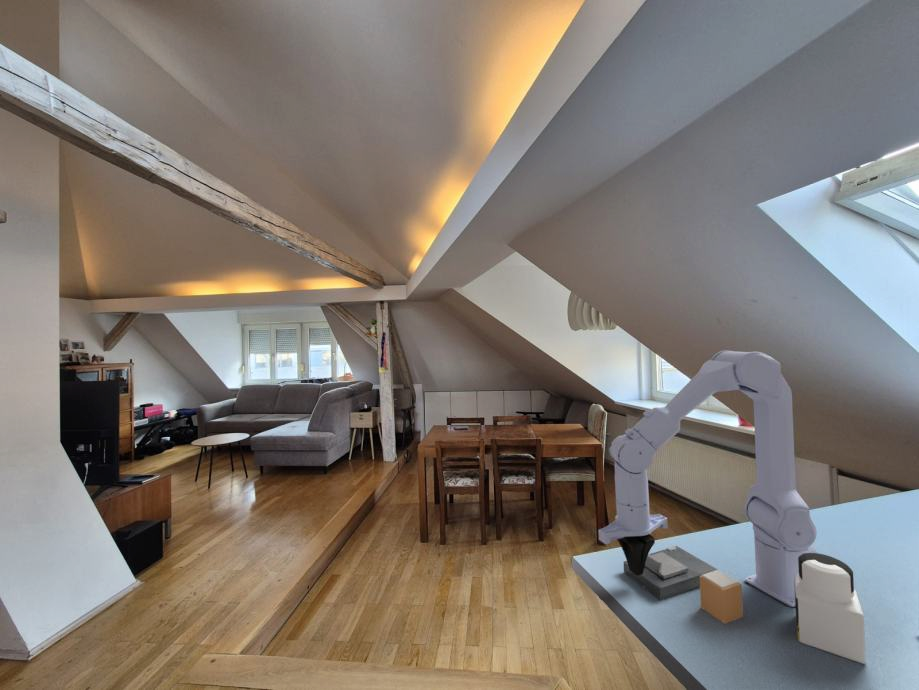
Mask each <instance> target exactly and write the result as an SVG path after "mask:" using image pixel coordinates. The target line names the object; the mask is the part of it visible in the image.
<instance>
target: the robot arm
mask: <svg viewBox="0 0 919 690" xmlns="http://www.w3.org/2000/svg"><path fill="white" fill-rule="evenodd" d="M781 367H782V364H781V362H779V361H778V360H776V359H774V358H773V357H772V356H769V355H768V354H766V353H764V352H761V351H734V350H726V349H725V350H721V351H718V352H717V353H715V354H713V356H712V357H711V358H710V359H708V360H707V361H705V362H704V363H703V364H702V366H701V367H700V369H699V370H698V372H697V373H696V374H695V375H694V376H693V377H692V378H691V379H690V380H689V382H687V384H686V385H685V386H684V387H683V388H682V389H680V391H679V392H678V393H677V394H676V395H675V396H673V398H672V399H671V400H670V401H668V403H667V404H666V405H665V406H663V407H653V408H652V409H651V410H650V409H646V410H645V411H644V412H643V413H642V415H643V417H642V418H641V419H640V420H639V421H638V422H636V424H634V425H633V426H632V427H631V428H627V429H625V431H624V433H625V434H622V435H618V436H617V437H615V438H614V439H613V440H612V442H611V446H610V447H608V452H609V455H610V456H611V458H612V459H613V460H614V487H615V488H614V489H615V504H616V505H615V507H616V515H615V516H614V517H615V518H614V519H615V520H614V521H613V522H611V523H609V524H608V525H607V526H605V527H604V526H603V528H599V529H598V531H597V532H598V540H599V541H600V542H601V543H603V544H604V545H609V544H611V542H612V541H615V540H616V541H617V542H618V544H619V546H620V547H621V550H622V551H623V554H624V556H625V559H626V560H625V561H627V563H628V566H629V570H630V571H631V572H633V573H634V574H635V575H637V576H638V575H641V574H643V571H644V567H645V562H646V559H647V556H648V554H650V551H651V549H652V547H653V546H654V545H655V543H656V540H655V539H656V538H655V537H654V536H653V535H652V534H651V533H652V532H654V531H655V530H656V529H662V530H665V529H668V528H669V526H668V524H669V523H668V517H666V516H663V515H662V514H660V513H657V514H650V512H651V511H650V498H649V497H650V496H649V495H650V494H649V478H648V469H650V468H651V466H652V464H653V459H654V455H655V454H656V453H657V452H659V450H660V449H661V448H662V447H664V446H665V445H666V444H667V443H668V442H669V441H670V440H671V439H672V438H673V437H675V436H676V435H677V434H678V433H679V432H680V431H681V420H683V419H684V418H685V417H686V416H687V415H689V414H690V413H691V412H693V411H694V410H695V409H696V408H697V407H699V406H700V405H701V404H702V403H704V402H705V401H707V400H708V399H709V398H710V397H711V396H712V395H714V394H716V393H721V392H729V391H730V392H732V391H739V392H741V393H743V394H744V395H745V396H747V397H748V398H749V399H752V401H753V421H754V422H753V423H754V427H753V428H754V444H755V445H754V447H755V448H754V449H755V472H756V483H755V484H753V485H751V486H750V487H749V488H748V498H747V500H746V501H745V504H744V515H745V516H746V518H747V520H748V521H749V522H751V524H752V530H753V536H754V537H753V539H754V558H755V559H754V560H755V573H754V574H752V575H749V576H746V577H744V582H746V583H748V584H749V585H751V586H753V587H755V588H756V589H757V590H760V591H761V592H764V593H766V594H767V595H769V596H770V597H772V598H774V599H776V600H777V601H780V602H781V603H783V604H785V605H787V607H791V608H794V607H795V586H794V574H799V564H798V557H799V556H800V555H802V554H804V553H818V551H817V549H816V548H815V546H814V545H813V544H814V543H815V542H816V539H817V534H818V533H817V527H816V526H815V523H814V522H813V520H812V519H811V514H810V513H811V512H810V507H809V506H808V504H807V503H806V502H805V501H804V499H803V498H802V497H801V495H800V494H799V493H798V491H797V490H796V488H797V487H796V464H795V439H794V417H793V416H794V414H793V412H794V411H793V394H792V393H793V392H792V389H791V387H790V386H789V383H787V381H786V379H785V377H784V375H783V374H782V368H781Z"/></svg>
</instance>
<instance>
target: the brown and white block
mask: <svg viewBox="0 0 919 690" xmlns="http://www.w3.org/2000/svg"><path fill="white" fill-rule="evenodd" d="M699 577H700V587H699V593H700V608H702V609H703V610H704V611H706V612H707V613H709V614H710V615H711V616H713V617H714V618H715V619H717V620H718V621H720V622H722V623H723V624H724V625H725V624H728V623H730V622H733V621H736V620H738V619H741V618H743V617H744V609H743V591H742V587H743V586H742V583H741V582H739V581H738V580H736V579H734V578H733V577H731V576H729V575H727V574H725V572H722V571H721V570H719V569H717V570H715V571H712V572H709V573H706V574H703V575H701V576H699Z"/></svg>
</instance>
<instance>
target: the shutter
mask: <svg viewBox="0 0 919 690" xmlns="http://www.w3.org/2000/svg"><path fill="white" fill-rule="evenodd" d="M650 554H651V553H648V556H647V559H646V562H645V566H646V567H647V568H649V569H650V570H651V571H653V572H654V573H656V574H657V575H659V576H660V577H662V578H663V579H666V578H669V577H672V576H675V575H678V574H681V573H684V572H687V571H688V568H687V567H686V566H684V565H683V564H681V563H679V562H678V561H676V560H674V559H673V558H671V557H670V556H668V555H666V554H665V553H663V552H660V553H657V554H654V555H650Z"/></svg>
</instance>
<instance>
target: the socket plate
mask: <svg viewBox="0 0 919 690" xmlns="http://www.w3.org/2000/svg"><path fill="white" fill-rule="evenodd" d="M660 552H663V553H665V554H666V555H668V556H670V557H671V558H673V559H674V560H676V561H678V562H679V563H681V564H683V565H684V566H686V567H687V568H688V571H687V572H684V573H681V574H678V575H675V576H672V577H669V578H666V579H663V578H662V577H660V576H659V575H657V574H656V573H654V572H653V571H651V570H650V569H649V568H647V567H646V566H645V567H644V571H643V574H641V575H638V576H637V575H635V574H634V573H633V572H631V571H630V570H629V566H628V563H627V560H625V561H624V560H623V572H624V574H626V575H627V576H628V577H629V578H631V580H634V581H635V582H636V583H637V584H638V585H640V586H641V587H642V588H644V589H645V590H646V591H648V592H649V593H650V594H652V596H654V597H655V598H656V599H658V600H659V601H663V600H666V599H669V598H672V597H675V596H677V594H678V595H680V593H681V594H683V592H684V593H686V591H687V592H689V591H692V590H694V589H698V588H700V577H699V576H701V575H703V574H706V573H709V572H712V571H715V570H718V568H716V567H715V566H712V565H711V564H709V563H708V562H705V561H704V560H702V559H700V558H699V557H697V556H696V555H693V554H691V553H690V552H688V551H686V550H684V549H683V548H681V547H679V546H677V545H675V546H674V545H672V546H668V547H666V548H665V549H662V550H658V551H655V552H652V553H649V554H650V555H654V554H657V553H660ZM697 587H698V588H697Z"/></svg>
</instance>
